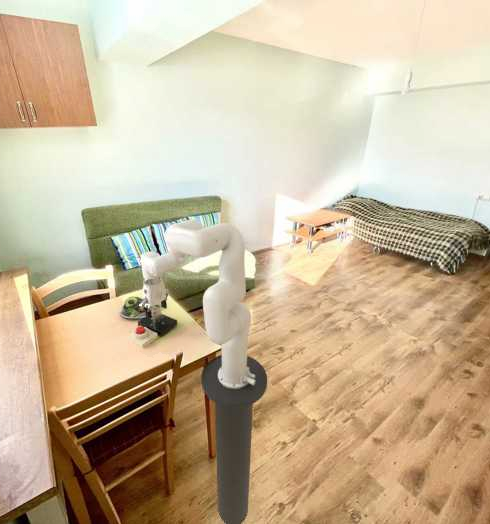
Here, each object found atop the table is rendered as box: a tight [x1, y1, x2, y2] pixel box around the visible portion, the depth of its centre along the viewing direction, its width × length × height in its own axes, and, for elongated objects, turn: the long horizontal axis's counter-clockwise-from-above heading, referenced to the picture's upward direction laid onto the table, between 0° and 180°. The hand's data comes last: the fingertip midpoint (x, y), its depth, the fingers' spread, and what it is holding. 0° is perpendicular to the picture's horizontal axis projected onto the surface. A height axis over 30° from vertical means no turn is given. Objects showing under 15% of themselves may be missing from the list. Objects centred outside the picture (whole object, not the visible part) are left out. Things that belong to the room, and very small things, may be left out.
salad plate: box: [119, 296, 161, 320], centre depth 143 cm, size 19×18×5 cm
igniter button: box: [135, 326, 145, 334], centre depth 121 cm, size 4×4×2 cm
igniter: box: [124, 326, 159, 349], centre depth 122 cm, size 11×9×4 cm
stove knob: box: [151, 308, 162, 324], centre depth 130 cm, size 4×4×5 cm
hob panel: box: [137, 313, 178, 338], centre depth 132 cm, size 15×11×3 cm
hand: (156, 312), depth 129 cm, fingers open, 9 cm apart
